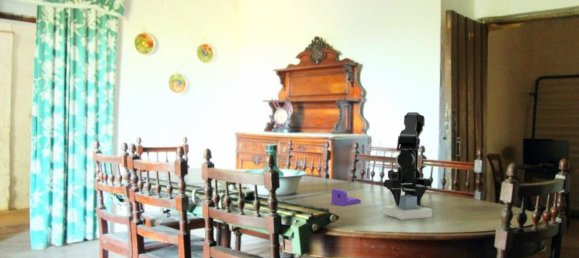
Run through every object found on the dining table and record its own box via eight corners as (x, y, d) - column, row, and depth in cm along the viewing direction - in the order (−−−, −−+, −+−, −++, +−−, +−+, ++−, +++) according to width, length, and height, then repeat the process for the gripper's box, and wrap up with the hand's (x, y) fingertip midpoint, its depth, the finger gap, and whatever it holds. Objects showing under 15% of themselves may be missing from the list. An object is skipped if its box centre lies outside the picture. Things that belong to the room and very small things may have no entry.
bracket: (343, 207, 198) (344, 191, 198) (331, 204, 203) (331, 189, 203) (360, 203, 207) (360, 188, 207) (348, 201, 212) (348, 186, 212)
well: (412, 211, 189) (412, 203, 189) (431, 217, 178) (432, 209, 178) (383, 213, 184) (383, 206, 184) (401, 219, 173) (401, 211, 172)
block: (408, 212, 184) (408, 194, 184) (416, 214, 179) (416, 196, 179) (398, 213, 182) (398, 195, 182) (406, 215, 177) (406, 197, 177)
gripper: (414, 162, 191) (413, 200, 192) (376, 163, 184) (375, 203, 185) (432, 165, 181) (431, 204, 181) (392, 166, 174) (391, 208, 174)
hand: (407, 205), depth 181 cm, fingers open, 9 cm apart
